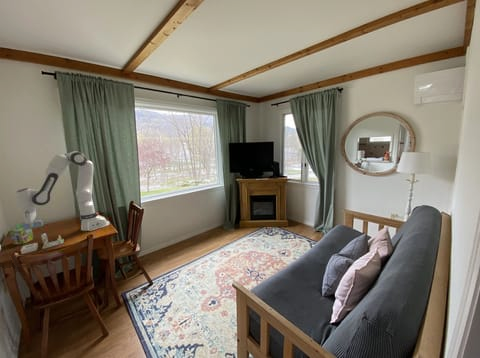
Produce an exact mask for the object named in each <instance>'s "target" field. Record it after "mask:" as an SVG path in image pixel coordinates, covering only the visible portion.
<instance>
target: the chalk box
mask: <svg viewBox="0 0 480 358" xmlns="http://www.w3.org/2000/svg"><path fill="white" fill-rule="evenodd" d="M14 227H15V228H14V229H12V230H10V231H9V235H10V238H11V243H12V245H25V244H27V243H29V242H32V241H34V240H35V237H34V233H33V228H32V229H27V230H23V228H22V224H21V223H20V224H17V225H15V226H14Z"/></svg>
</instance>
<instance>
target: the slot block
mask: <svg viewBox="0 0 480 358" xmlns="http://www.w3.org/2000/svg"><path fill="white" fill-rule="evenodd" d="M38 248H39V244H38V242H34V243H31V244H26V245H25V244H24V245H23V246H22V247H21V249H20V252H21V255H23V254H27V253H32V252H35V251H37V250H38Z"/></svg>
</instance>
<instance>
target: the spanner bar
mask: <svg viewBox="0 0 480 358" xmlns="http://www.w3.org/2000/svg"><path fill="white" fill-rule="evenodd" d="M33 224H34V226H33V227H30V224H25V222H24V223H22V224H21V225H22V228H23V230H27V229H32V230H33V229H36V228H40V227H43V226H44V222H43V219H39V220H38V219H37V220H35V221H33Z"/></svg>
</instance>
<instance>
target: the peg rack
mask: <svg viewBox="0 0 480 358" xmlns="http://www.w3.org/2000/svg"><path fill="white" fill-rule="evenodd" d="M57 236H58V238H57V240H54V241H53V240H52V241H50V242H49V239H48V237H47V238H46V239H45V242H44V244H43V246H42V250H44V249H48V248H51V247H56V246H59V245H63V244H64V241H65V240H64V238H62V236H61V234H59V235H57Z"/></svg>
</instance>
